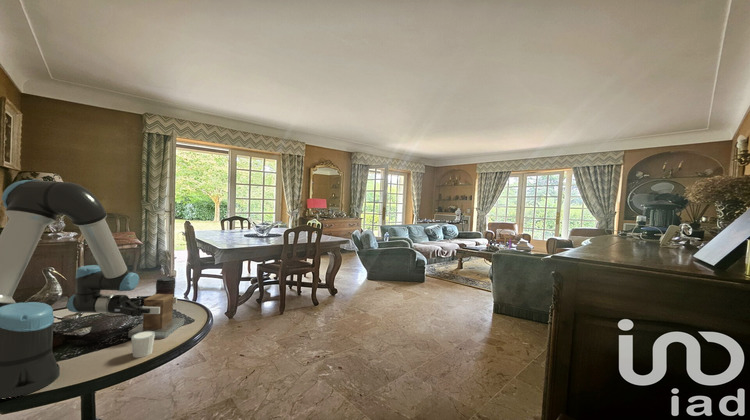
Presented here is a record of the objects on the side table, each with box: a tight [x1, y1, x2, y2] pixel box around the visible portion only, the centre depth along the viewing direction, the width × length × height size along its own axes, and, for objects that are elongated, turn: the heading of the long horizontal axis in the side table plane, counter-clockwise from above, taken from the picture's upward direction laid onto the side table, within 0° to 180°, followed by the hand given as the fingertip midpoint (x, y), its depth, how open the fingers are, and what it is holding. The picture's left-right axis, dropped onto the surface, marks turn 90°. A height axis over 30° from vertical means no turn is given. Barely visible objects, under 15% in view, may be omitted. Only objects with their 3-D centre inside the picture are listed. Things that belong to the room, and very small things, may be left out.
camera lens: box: [155, 276, 176, 297], centre depth 151 cm, size 8×8×15 cm
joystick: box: [127, 317, 185, 339], centre depth 126 cm, size 14×14×10 cm
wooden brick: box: [142, 293, 174, 328], centre depth 126 cm, size 7×7×12 cm
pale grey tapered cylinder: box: [131, 331, 155, 359], centre depth 108 cm, size 7×7×7 cm
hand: (168, 305), depth 126 cm, fingers open, 11 cm apart
